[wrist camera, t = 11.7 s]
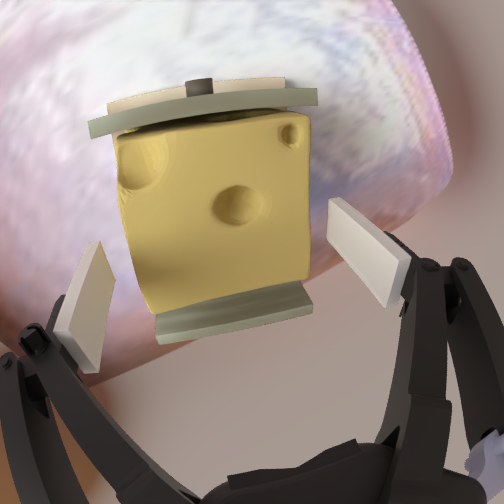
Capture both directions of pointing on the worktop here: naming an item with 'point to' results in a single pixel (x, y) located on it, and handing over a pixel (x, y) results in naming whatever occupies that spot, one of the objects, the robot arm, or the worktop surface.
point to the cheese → (215, 204)
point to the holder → (196, 104)
